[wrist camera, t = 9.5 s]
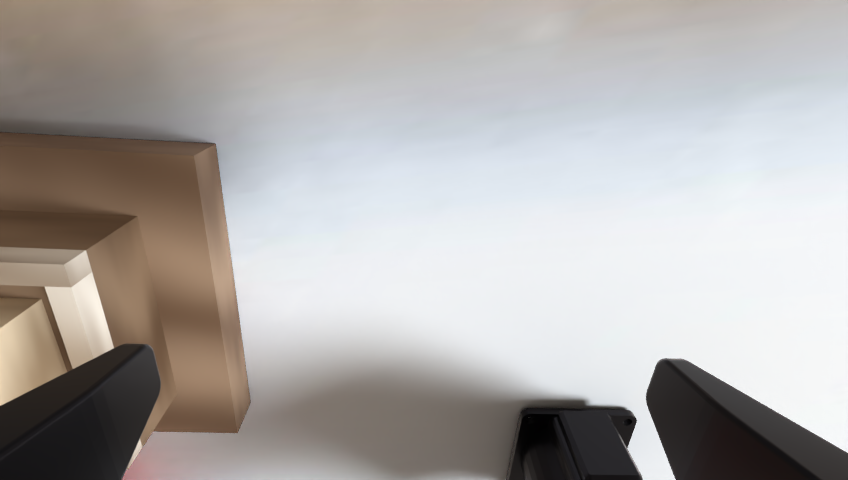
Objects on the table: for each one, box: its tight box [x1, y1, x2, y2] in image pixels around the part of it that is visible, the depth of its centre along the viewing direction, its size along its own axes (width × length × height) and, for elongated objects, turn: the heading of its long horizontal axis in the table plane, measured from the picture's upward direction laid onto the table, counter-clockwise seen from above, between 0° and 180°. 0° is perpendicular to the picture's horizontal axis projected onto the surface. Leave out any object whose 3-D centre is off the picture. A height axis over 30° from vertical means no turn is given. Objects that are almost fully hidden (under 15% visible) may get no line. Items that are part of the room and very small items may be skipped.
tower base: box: [0, 132, 251, 469], centre depth 18 cm, size 14×14×6 cm
